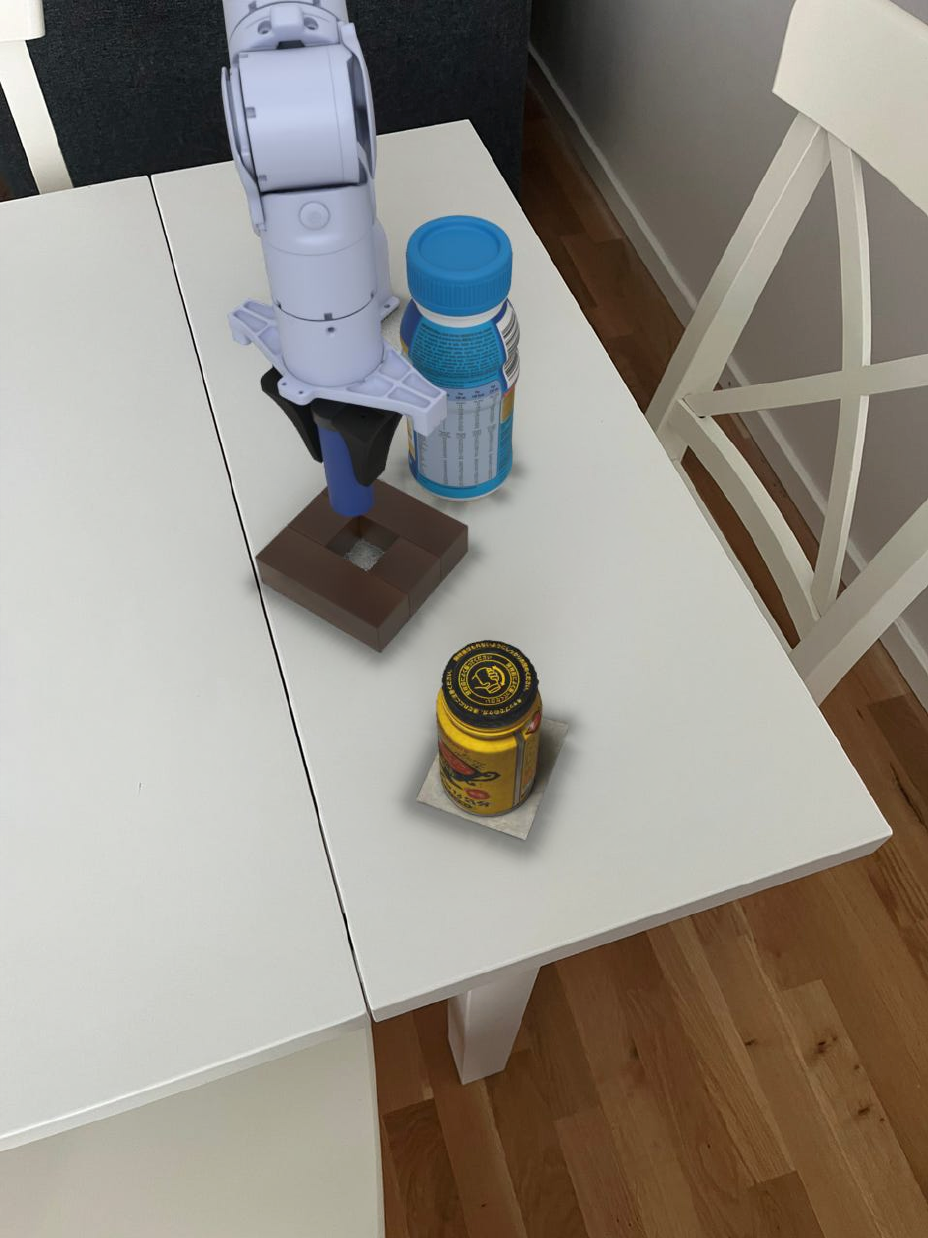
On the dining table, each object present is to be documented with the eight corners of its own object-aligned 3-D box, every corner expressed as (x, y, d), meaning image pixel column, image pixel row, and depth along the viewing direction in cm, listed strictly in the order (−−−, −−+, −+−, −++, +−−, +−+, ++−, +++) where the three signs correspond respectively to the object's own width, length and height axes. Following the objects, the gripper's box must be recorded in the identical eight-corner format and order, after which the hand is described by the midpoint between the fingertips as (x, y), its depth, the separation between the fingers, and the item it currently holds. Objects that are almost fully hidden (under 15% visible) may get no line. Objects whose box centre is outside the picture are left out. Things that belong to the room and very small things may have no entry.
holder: (353, 489, 77) (349, 463, 74) (468, 551, 73) (468, 525, 71) (261, 582, 72) (254, 556, 69) (380, 653, 68) (377, 629, 66)
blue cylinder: (348, 474, 68) (333, 373, 61) (387, 495, 67) (378, 395, 59) (316, 505, 66) (298, 405, 59) (356, 527, 65) (343, 428, 58)
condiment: (415, 801, 62) (406, 707, 52) (465, 692, 66) (465, 586, 56) (525, 842, 60) (536, 753, 50) (568, 727, 65) (587, 625, 55)
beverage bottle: (443, 523, 75) (436, 304, 58) (387, 454, 79) (366, 231, 62) (534, 478, 77) (553, 256, 61) (476, 414, 81) (479, 189, 65)
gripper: (172, 277, 53) (223, 454, 64) (387, 381, 49) (402, 553, 60) (259, 213, 56) (293, 392, 68) (468, 305, 52) (467, 481, 63)
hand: (348, 463), depth 64 cm, fingers closed on blue cylinder, 3 cm apart
